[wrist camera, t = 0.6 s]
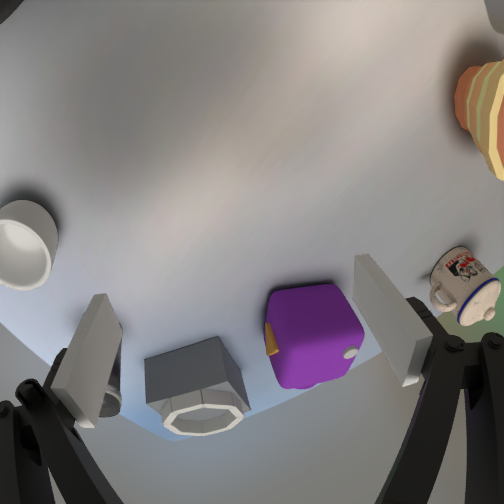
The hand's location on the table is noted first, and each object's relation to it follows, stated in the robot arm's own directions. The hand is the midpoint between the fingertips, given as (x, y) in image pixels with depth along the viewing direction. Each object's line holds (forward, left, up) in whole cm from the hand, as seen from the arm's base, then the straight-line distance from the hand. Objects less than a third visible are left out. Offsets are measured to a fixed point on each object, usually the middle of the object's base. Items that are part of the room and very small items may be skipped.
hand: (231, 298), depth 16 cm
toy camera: (+23, +5, -15) cm, 28 cm away
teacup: (-3, -18, -15) cm, 24 cm away
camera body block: (+26, -11, -15) cm, 32 cm away
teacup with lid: (+27, +30, -15) cm, 43 cm away
